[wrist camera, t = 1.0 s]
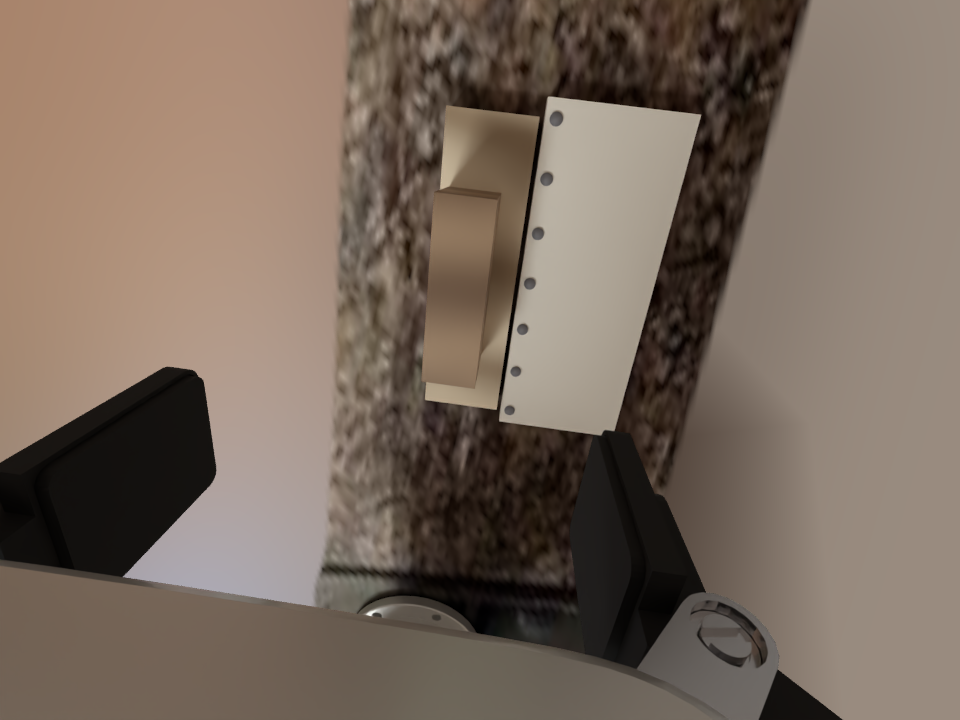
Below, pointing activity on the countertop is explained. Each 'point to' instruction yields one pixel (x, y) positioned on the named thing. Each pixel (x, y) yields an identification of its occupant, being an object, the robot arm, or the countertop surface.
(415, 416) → the countertop surface
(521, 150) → the stub
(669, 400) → the countertop surface
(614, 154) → the board
